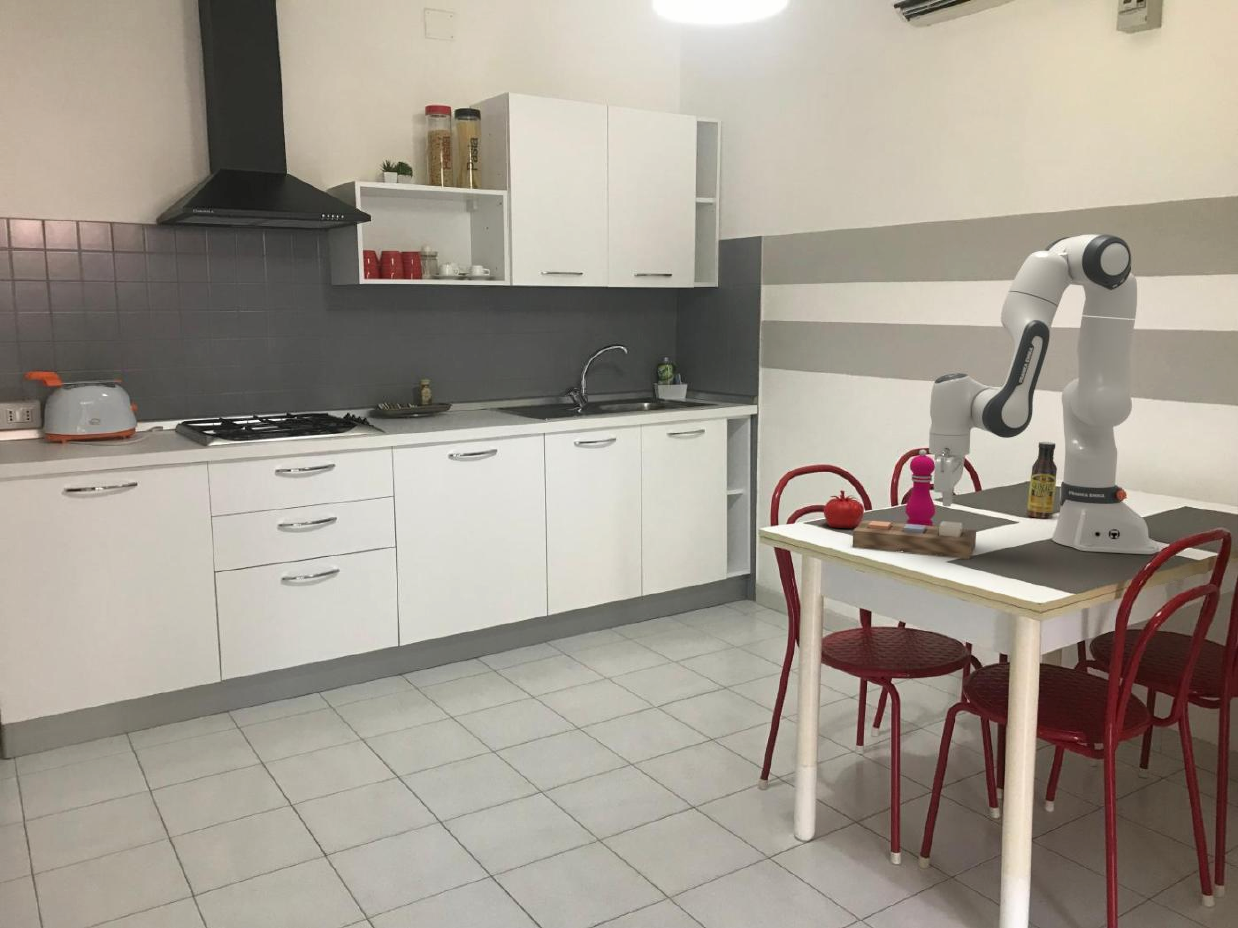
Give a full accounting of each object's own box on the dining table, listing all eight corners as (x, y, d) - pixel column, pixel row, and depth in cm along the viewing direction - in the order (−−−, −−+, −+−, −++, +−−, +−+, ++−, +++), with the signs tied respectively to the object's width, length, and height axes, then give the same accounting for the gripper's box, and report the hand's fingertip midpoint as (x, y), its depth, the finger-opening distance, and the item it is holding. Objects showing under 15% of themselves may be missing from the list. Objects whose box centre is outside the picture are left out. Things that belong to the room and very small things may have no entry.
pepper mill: (935, 531, 249) (939, 452, 246) (905, 530, 251) (909, 451, 248) (932, 524, 256) (936, 447, 253) (903, 523, 258) (907, 447, 255)
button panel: (975, 546, 234) (976, 530, 233) (969, 558, 223) (970, 541, 223) (863, 535, 245) (863, 520, 244) (852, 547, 234) (853, 530, 234)
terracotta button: (890, 536, 238) (891, 522, 238) (887, 540, 234) (887, 526, 234) (871, 534, 240) (872, 520, 240) (868, 538, 236) (868, 524, 236)
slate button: (925, 540, 235) (926, 525, 234) (922, 544, 231) (923, 529, 230) (906, 538, 237) (906, 523, 236) (902, 542, 233) (903, 527, 232)
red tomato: (860, 532, 250) (862, 496, 248) (820, 528, 253) (821, 493, 251) (865, 523, 259) (867, 488, 257) (826, 519, 262) (827, 485, 261)
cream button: (961, 537, 231) (962, 522, 231) (958, 541, 227) (959, 526, 227) (941, 535, 233) (942, 521, 233) (938, 540, 229) (939, 525, 229)
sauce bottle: (1026, 518, 264) (1031, 443, 260) (1026, 513, 270) (1031, 440, 266) (1053, 520, 261) (1059, 444, 258) (1053, 515, 267) (1058, 441, 264)
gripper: (957, 453, 217) (955, 515, 219) (969, 440, 235) (967, 497, 237) (927, 451, 220) (925, 513, 222) (941, 439, 238) (939, 496, 240)
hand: (947, 505), depth 230 cm, fingers closed
